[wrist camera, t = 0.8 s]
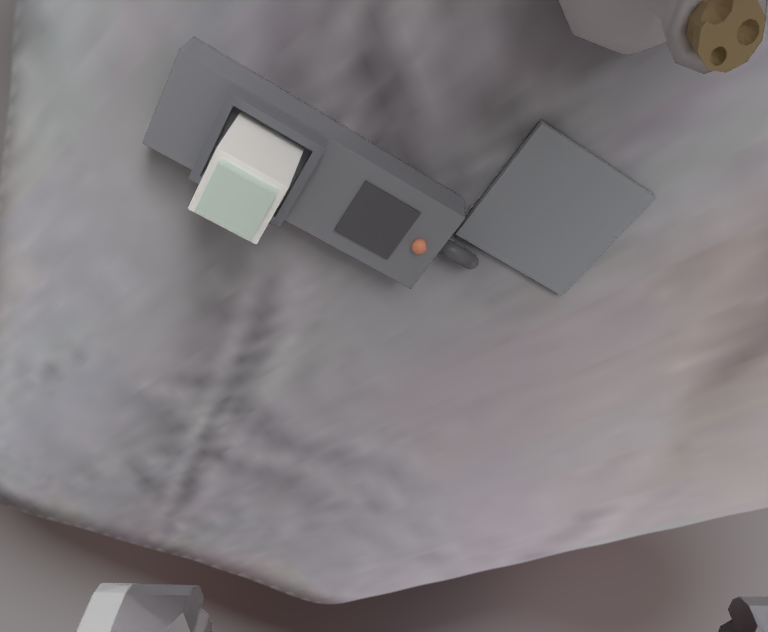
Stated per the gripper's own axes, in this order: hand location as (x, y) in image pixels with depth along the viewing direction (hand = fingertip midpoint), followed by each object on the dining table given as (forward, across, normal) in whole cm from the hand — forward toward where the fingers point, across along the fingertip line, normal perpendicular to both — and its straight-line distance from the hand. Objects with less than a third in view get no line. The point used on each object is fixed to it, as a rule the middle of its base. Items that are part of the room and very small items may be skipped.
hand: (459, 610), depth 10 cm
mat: (+39, -9, +12) cm, 42 cm away
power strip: (+39, +7, +9) cm, 41 cm away
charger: (+36, +11, +6) cm, 38 cm away
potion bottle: (+39, -11, -4) cm, 40 cm away
